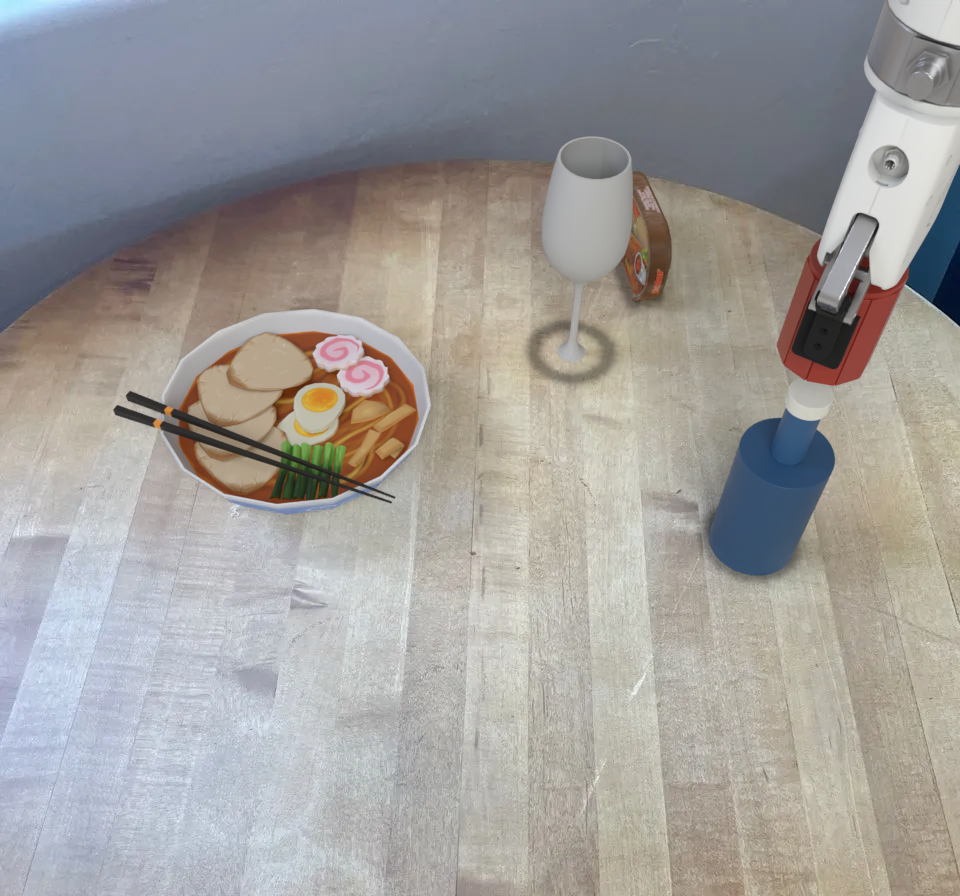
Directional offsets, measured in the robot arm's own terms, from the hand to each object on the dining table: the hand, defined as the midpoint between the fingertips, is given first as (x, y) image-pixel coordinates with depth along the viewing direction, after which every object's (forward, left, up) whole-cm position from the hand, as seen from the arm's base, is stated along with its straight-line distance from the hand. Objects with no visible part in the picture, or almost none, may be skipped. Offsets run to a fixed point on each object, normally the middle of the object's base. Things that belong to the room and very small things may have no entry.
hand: (835, 325), depth 66 cm
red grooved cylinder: (0, 0, -2) cm, 2 cm away
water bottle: (0, +1, -24) cm, 24 cm away
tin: (+25, -27, -24) cm, 43 cm away
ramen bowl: (+38, +12, -24) cm, 46 cm away
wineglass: (+24, -11, -24) cm, 36 cm away
